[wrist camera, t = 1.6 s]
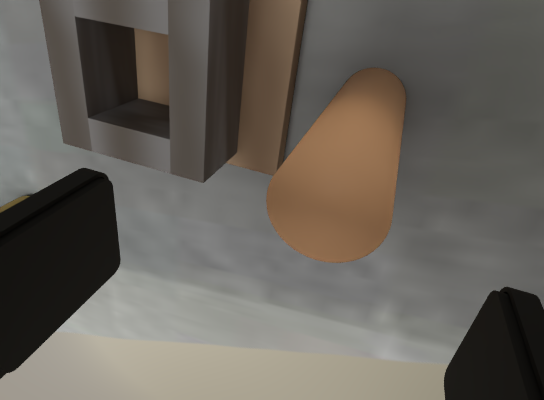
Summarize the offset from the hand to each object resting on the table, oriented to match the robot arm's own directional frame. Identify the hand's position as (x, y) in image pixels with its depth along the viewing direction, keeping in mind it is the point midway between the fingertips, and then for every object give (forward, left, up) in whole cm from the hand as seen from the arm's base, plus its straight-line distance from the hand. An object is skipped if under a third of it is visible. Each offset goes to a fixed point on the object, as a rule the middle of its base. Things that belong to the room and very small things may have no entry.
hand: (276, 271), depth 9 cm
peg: (-1, 0, -17) cm, 17 cm away
